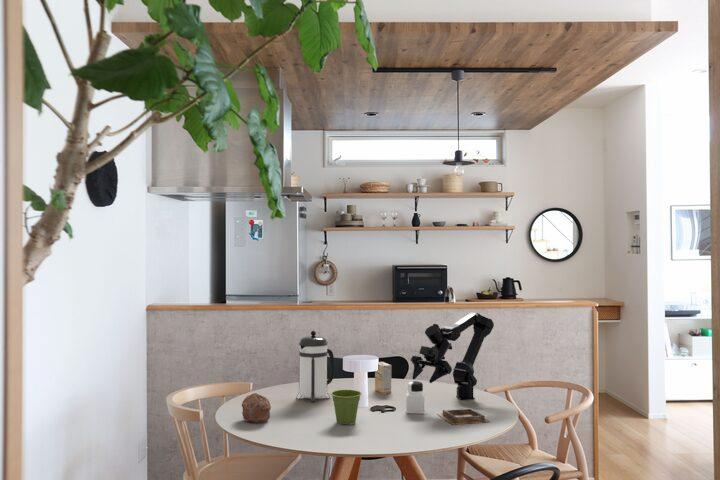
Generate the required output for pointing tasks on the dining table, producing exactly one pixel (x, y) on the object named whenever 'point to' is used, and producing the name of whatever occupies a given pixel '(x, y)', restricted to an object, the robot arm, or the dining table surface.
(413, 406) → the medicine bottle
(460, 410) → the walnut dock
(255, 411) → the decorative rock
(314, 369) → the coffee press
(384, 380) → the supplement box
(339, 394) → the plant pot
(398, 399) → the dining table surface
